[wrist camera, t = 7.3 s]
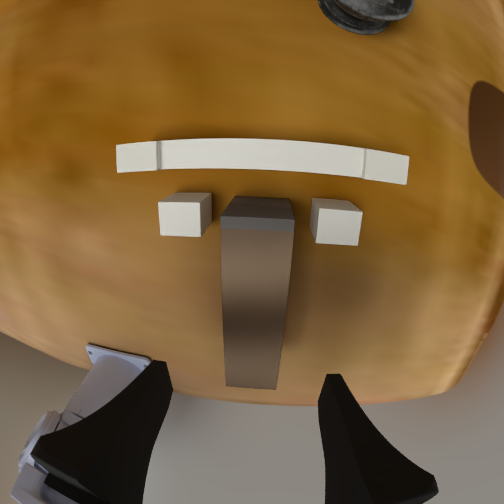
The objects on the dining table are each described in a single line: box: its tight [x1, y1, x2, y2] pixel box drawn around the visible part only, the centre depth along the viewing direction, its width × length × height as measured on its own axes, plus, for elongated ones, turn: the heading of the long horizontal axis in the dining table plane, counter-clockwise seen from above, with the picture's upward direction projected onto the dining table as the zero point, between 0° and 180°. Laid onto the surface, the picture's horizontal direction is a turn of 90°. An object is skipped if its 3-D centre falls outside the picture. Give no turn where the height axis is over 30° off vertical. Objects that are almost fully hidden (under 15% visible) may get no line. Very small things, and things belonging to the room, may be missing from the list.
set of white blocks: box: [116, 138, 409, 246], centre depth 15 cm, size 6×15×4 cm, turn 88°
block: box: [221, 196, 295, 390], centre depth 17 cm, size 12×4×5 cm, turn 179°
